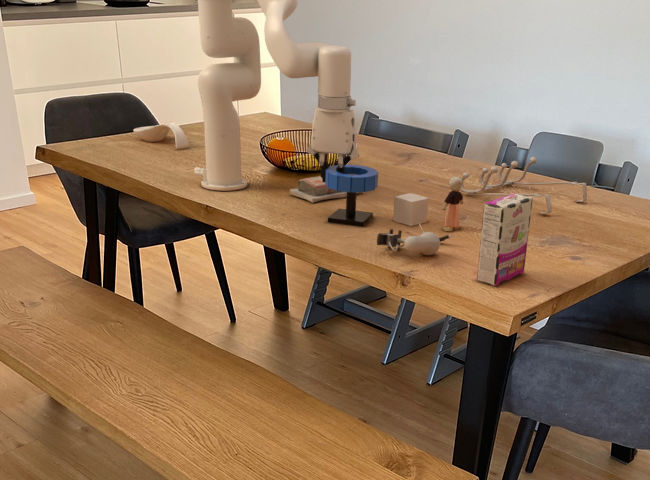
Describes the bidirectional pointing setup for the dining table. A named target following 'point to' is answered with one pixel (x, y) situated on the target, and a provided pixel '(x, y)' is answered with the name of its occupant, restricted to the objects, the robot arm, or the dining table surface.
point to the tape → (352, 179)
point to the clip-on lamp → (412, 242)
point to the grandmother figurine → (453, 205)
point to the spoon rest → (162, 134)
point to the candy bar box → (504, 238)
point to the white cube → (410, 209)
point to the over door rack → (504, 182)
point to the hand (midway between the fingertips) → (332, 181)
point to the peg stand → (350, 213)
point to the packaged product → (316, 190)
